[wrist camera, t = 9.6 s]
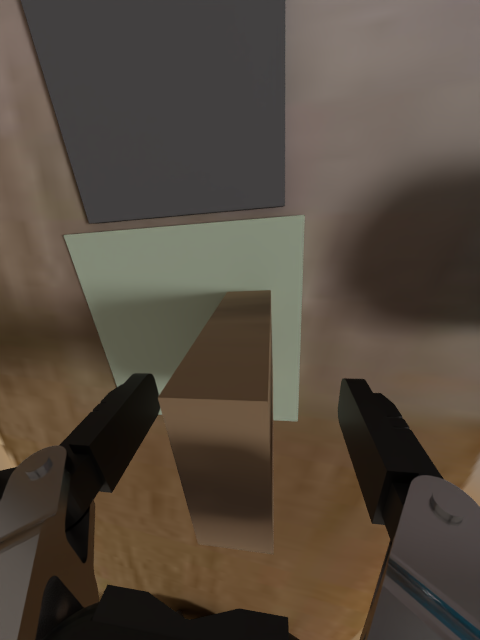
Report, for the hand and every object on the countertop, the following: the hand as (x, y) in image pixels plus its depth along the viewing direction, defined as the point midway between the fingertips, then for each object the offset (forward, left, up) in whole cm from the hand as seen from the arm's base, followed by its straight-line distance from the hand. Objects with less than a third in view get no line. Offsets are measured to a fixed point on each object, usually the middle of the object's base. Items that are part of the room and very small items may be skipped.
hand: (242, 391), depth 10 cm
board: (0, -4, -6) cm, 7 cm away
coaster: (-13, -4, -6) cm, 15 cm away
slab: (0, 0, -5) cm, 5 cm away
